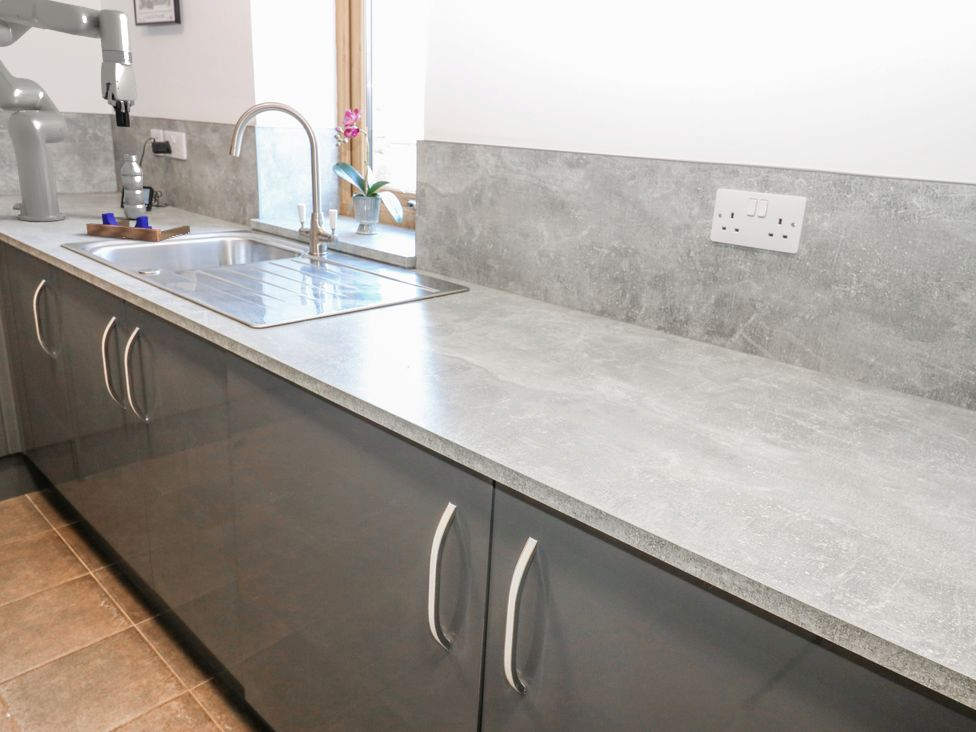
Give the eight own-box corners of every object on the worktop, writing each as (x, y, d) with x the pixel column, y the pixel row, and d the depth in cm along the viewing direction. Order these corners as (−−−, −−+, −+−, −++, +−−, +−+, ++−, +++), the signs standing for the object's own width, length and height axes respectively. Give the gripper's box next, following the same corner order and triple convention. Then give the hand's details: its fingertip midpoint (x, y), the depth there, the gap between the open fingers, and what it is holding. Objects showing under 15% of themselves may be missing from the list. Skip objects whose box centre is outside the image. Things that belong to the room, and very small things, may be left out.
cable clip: (152, 236, 212) (150, 215, 210) (143, 239, 208) (141, 217, 206) (114, 233, 214) (111, 212, 212) (104, 235, 210) (101, 214, 208)
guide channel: (87, 234, 208) (86, 223, 207) (124, 226, 224) (123, 216, 223) (157, 241, 205) (156, 230, 204) (190, 232, 221) (189, 222, 220)
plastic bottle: (120, 218, 237) (114, 153, 230) (140, 217, 242) (134, 153, 236) (131, 221, 233) (125, 155, 227) (151, 219, 239) (146, 155, 232)
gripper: (121, 59, 216) (127, 125, 222) (87, 55, 202) (94, 126, 208) (145, 61, 215) (150, 127, 221) (112, 57, 201) (119, 128, 207)
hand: (123, 126), depth 214 cm, fingers closed
